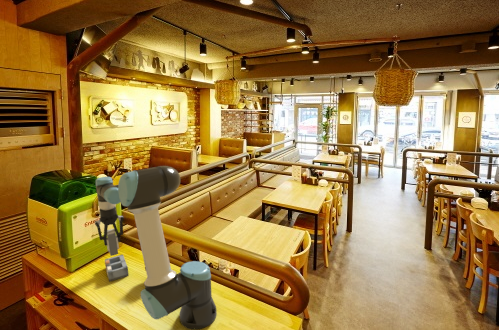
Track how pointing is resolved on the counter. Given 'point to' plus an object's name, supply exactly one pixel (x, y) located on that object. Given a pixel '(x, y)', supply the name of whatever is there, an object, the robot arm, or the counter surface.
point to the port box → (116, 267)
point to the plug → (112, 242)
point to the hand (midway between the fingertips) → (113, 248)
